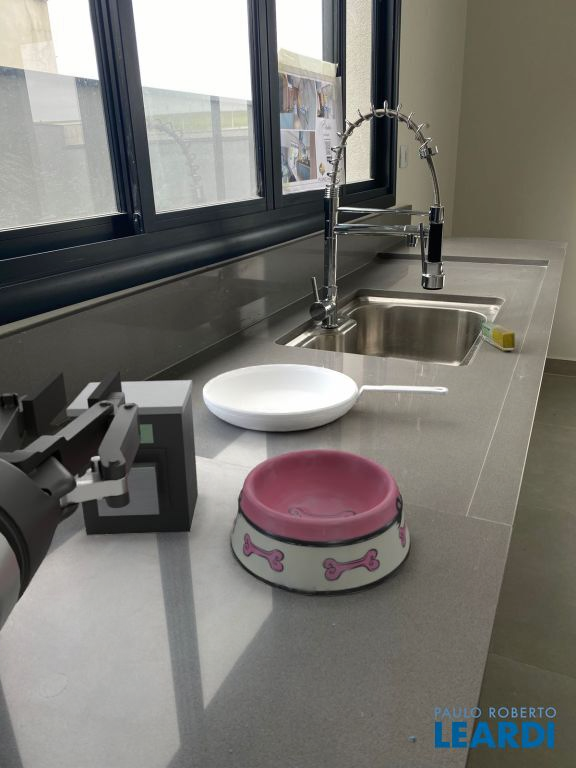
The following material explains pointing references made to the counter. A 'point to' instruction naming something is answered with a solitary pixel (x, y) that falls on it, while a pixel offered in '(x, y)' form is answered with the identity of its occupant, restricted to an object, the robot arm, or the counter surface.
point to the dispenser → (154, 457)
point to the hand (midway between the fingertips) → (88, 387)
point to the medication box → (498, 335)
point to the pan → (288, 396)
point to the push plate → (138, 492)
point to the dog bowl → (320, 523)
